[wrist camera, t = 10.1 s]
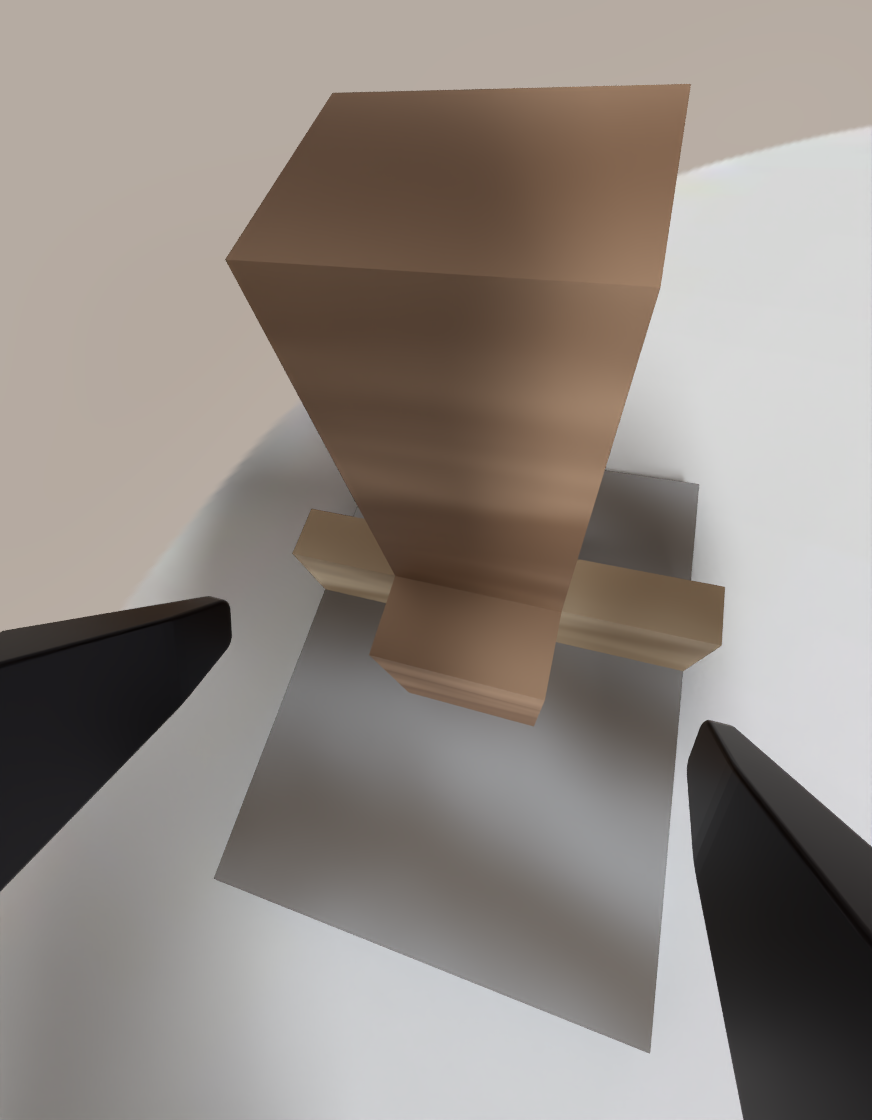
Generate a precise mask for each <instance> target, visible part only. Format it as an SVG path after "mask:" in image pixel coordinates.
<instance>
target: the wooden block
mask: <svg viewBox="0 0 872 1120" xmlns="http://www.w3.org/2000/svg"><path fill="white" fill-rule="evenodd" d="M690 86H691V85H690V84H674V85H673V84H672V85H634V86H633V85H632V86H593V87H552V88H516V89H515V88H513V89H475V90H474V89H472V90H432V91H395V92H394V91H392V92H352V93H332V95H331V96H330V98H329V99H328V101H327V102H326V104H325V105H324V107H323V109H322V110H321V112H320V113H319V115H318V116H317V118H316V119H315V121H314V123H313V124H312V126H311V127H310V129H309V130H308V132H307V133H306V135H305V137H304V138H303V140H302V141H301V143H300V144H299V146H298V147H297V149H296V151H295V152H294V154H293V155H292V157H291V158H290V160H289V162H288V163H287V164H286V166H285V168H284V169H283V171H282V172H281V174H280V175H279V177H278V178H277V180H276V182H275V183H274V185H273V186H272V188H271V189H270V191H269V192H268V194H267V195H266V197H265V199H264V200H263V202H262V203H261V205H260V207H259V208H258V210H257V211H256V213H255V214H254V216H253V217H252V219H251V220H250V222H249V224H248V225H247V227H246V228H245V230H244V231H243V233H242V234H241V236H240V237H239V239H238V241H237V242H236V244H235V245H234V247H233V249H232V250H231V252H230V253H229V254H228V256H227V258H226V259H225V260H226V262H227V264H228V265H229V267H230V269H231V271H232V273H233V275H234V276H235V278H236V280H237V282H238V284H239V286H240V288H241V290H242V291H243V293H244V295H245V297H246V299H247V301H248V302H249V305H250V306H251V308H252V310H253V312H254V314H255V316H256V318H257V319H258V321H259V323H260V325H261V327H262V329H263V330H264V332H265V334H266V336H267V338H268V340H269V342H270V344H271V345H272V347H273V349H274V351H275V353H276V355H277V356H278V358H279V360H280V362H281V364H282V366H283V368H284V370H285V371H286V373H287V375H288V377H289V379H290V381H291V383H292V385H293V386H294V388H295V390H296V392H297V394H298V396H299V398H300V400H301V401H302V403H303V405H304V407H305V409H306V411H307V413H308V414H309V416H310V418H311V420H312V422H313V424H314V426H315V427H316V429H317V431H318V433H319V435H320V437H321V439H322V440H323V442H324V444H325V446H326V448H327V450H328V452H329V454H330V455H331V457H332V459H333V461H334V463H335V465H336V467H337V468H338V470H339V472H340V474H341V476H342V478H343V480H344V481H345V483H346V485H347V487H348V489H349V491H350V493H351V494H352V496H353V498H354V500H355V502H356V504H357V506H358V508H359V509H360V511H361V513H362V515H363V517H364V519H365V521H366V522H367V524H368V526H369V528H370V530H371V532H372V534H373V535H374V537H375V539H376V541H377V543H378V545H379V547H380V548H381V550H382V552H383V554H384V556H385V558H386V560H387V562H388V563H389V565H390V567H391V569H392V571H393V573H394V575H395V578H394V581H393V584H392V587H391V590H390V593H389V596H388V599H387V602H386V605H385V608H384V611H383V614H382V617H381V620H380V623H379V626H378V629H377V632H376V635H375V638H374V641H373V644H372V647H371V650H370V653H369V655H370V656H371V657H372V658H373V659H374V660H375V661H376V662H377V663H378V664H379V665H380V666H381V667H382V668H383V669H384V670H385V671H387V672H388V673H389V674H390V675H391V676H392V677H393V678H394V679H395V680H396V681H397V682H398V683H399V684H400V685H401V686H402V687H403V688H405V689H406V690H407V691H408V692H409V693H412V694H416V695H420V696H423V697H427V698H431V699H434V700H438V701H442V702H445V703H449V704H453V705H456V706H460V707H464V708H467V709H471V710H475V711H479V712H482V713H486V714H490V715H493V716H497V717H501V718H504V719H508V720H512V721H515V722H519V723H523V724H526V725H530V726H534V725H535V722H536V720H537V718H538V715H539V713H540V711H541V708H542V706H543V703H544V701H545V697H546V691H547V686H548V681H549V676H550V670H551V665H552V660H553V654H554V649H555V644H556V639H557V633H558V628H559V623H560V618H561V612H562V609H563V606H564V602H565V599H566V596H567V592H568V589H569V586H570V583H571V579H572V576H573V573H574V569H575V566H576V563H577V560H578V556H579V553H580V550H581V546H582V543H583V540H584V537H585V533H586V530H587V527H588V523H589V520H590V517H591V514H592V510H593V507H594V504H595V500H596V497H597V494H598V491H599V487H600V484H601V481H602V477H603V474H604V471H605V468H606V464H607V461H608V458H609V454H610V451H611V448H612V445H613V441H614V438H615V435H616V431H617V428H618V425H619V422H620V418H621V415H622V412H623V408H624V405H625V402H626V399H627V395H628V392H629V389H630V385H631V382H632V379H633V376H634V372H635V369H636V366H637V362H638V359H639V356H640V353H641V349H642V346H643V343H644V339H645V336H646V333H647V330H648V326H649V323H650V320H651V316H652V313H653V310H654V307H655V303H656V300H657V297H658V293H659V290H660V286H661V280H662V273H663V266H664V260H665V253H666V246H667V239H668V233H669V226H670V219H671V213H672V206H673V199H674V193H675V186H676V179H677V173H678V166H679V159H680V152H681V146H682V139H683V132H684V126H685V119H686V112H687V106H688V99H689V92H690Z"/></svg>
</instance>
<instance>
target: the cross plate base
mask: <svg viewBox="0 0 872 1120" xmlns="http://www.w3.org/2000/svg"><path fill="white" fill-rule="evenodd" d="M698 491H699V484H694V483H687V482H681V481H674V480H667V479H660V478H653V477H647V476H640V475H633V474H626V473H619V472H613V471H606V470H605V471H604V474H603V477H602V481H601V484H600V487H599V491H598V494H597V497H596V500H595V504H594V507H593V510H592V514H591V517H590V520H589V523H588V527H587V530H586V533H585V537H584V540H583V543H582V546H581V550H580V553H579V556H578V560H577V563H576V566H575V569H574V573H573V576H572V579H571V583H570V586H569V589H568V592H567V596H566V599H565V602H564V606H563V609H562V612H561V618H560V623H559V628H558V633H557V639H556V644H555V649H554V654H553V660H552V665H551V670H550V676H549V681H548V686H547V691H546V697H545V701H544V703H543V706H542V708H541V711H540V713H539V715H538V718H537V720H536V722H535V725H534V726H530V725H526V724H523V723H519V722H515V721H512V720H508V719H504V718H501V717H497V716H493V715H490V714H486V713H482V712H479V711H475V710H471V709H467V708H464V707H460V706H456V705H453V704H449V703H445V702H442V701H438V700H434V699H431V698H427V697H423V696H420V695H416V694H412V693H409V692H408V691H407V690H406V689H405V688H403V687H402V686H401V685H400V684H399V683H398V682H397V681H396V680H395V679H394V678H393V677H392V676H391V675H390V674H389V673H388V672H387V671H385V670H384V669H383V668H382V667H381V666H380V665H379V664H378V663H377V662H376V661H375V660H374V659H373V658H372V657H371V656H370V655H369V653H370V650H371V647H372V644H373V641H374V638H375V635H376V632H377V629H378V626H379V623H380V620H381V617H382V614H383V611H384V608H385V605H386V602H387V599H388V596H389V593H390V590H391V587H392V584H393V581H394V578H395V575H394V573H393V571H392V569H391V567H390V565H389V563H388V562H387V560H386V558H385V556H384V554H383V552H382V550H381V548H380V547H379V545H378V543H377V541H376V539H375V537H374V535H373V534H372V532H371V530H370V528H369V526H368V524H367V522H366V521H365V519H364V517H363V515H362V513H361V511H360V509H359V508H358V506H357V509H356V511H355V514H354V516H353V517H352V516H347V515H342V514H336V513H331V512H326V511H321V510H315V509H311V511H310V513H309V516H308V518H307V520H306V523H305V525H304V527H303V530H302V532H301V535H300V537H299V539H298V542H297V544H296V546H295V549H294V551H293V553H292V554H293V555H294V556H295V557H296V558H297V559H298V560H299V561H300V562H301V563H302V565H303V566H304V567H305V568H306V569H307V570H308V571H309V572H310V573H311V574H312V575H313V576H314V577H315V579H316V580H317V581H318V582H319V583H320V584H321V585H322V586H323V587H324V588H325V591H324V594H323V597H322V599H321V602H320V604H319V607H318V610H317V612H316V615H315V617H314V620H313V623H312V625H311V628H310V630H309V633H308V636H307V638H306V641H305V643H304V646H303V649H302V651H301V654H300V656H299V659H298V661H297V664H296V667H295V669H294V672H293V674H292V677H291V680H290V682H289V685H288V687H287V690H286V693H285V695H284V698H283V700H282V703H281V706H280V708H279V711H278V713H277V716H276V718H275V721H274V724H273V726H272V729H271V731H270V734H269V737H268V739H267V742H266V744H265V747H264V750H263V752H262V755H261V757H260V760H259V763H258V765H257V768H256V770H255V773H254V775H253V778H252V781H251V783H250V786H249V788H248V791H247V794H246V796H245V799H244V801H243V804H242V807H241V809H240V812H239V814H238V817H237V820H236V822H235V825H234V827H233V830H232V833H231V835H230V838H229V840H228V843H227V845H226V848H225V851H224V853H223V856H222V858H221V861H220V864H219V866H218V869H217V871H216V874H215V877H214V879H216V880H218V881H221V882H223V883H226V884H228V885H231V886H233V887H236V888H238V889H241V890H243V891H246V892H248V893H251V894H253V895H256V896H258V897H261V898H263V899H266V900H268V901H271V902H273V903H276V904H278V905H281V906H283V907H286V908H288V909H291V910H293V911H296V912H298V913H301V914H303V915H306V916H308V917H311V918H313V919H316V920H318V921H321V922H323V923H326V924H328V925H331V926H333V927H336V928H338V929H341V930H343V931H346V932H348V933H351V934H353V935H356V936H358V937H361V938H363V939H366V940H368V941H370V942H373V943H375V944H378V945H380V946H383V947H385V948H388V949H390V950H393V951H395V952H398V953H400V954H403V955H405V956H408V957H410V958H413V959H415V960H418V961H420V962H423V963H425V964H428V965H430V966H433V967H435V968H438V969H440V970H443V971H445V972H448V973H450V974H453V975H455V976H458V977H460V978H463V979H465V980H468V981H470V982H473V983H475V984H478V985H480V986H483V987H485V988H488V989H490V990H493V991H495V992H498V993H500V994H503V995H505V996H508V997H510V998H513V999H515V1000H518V1001H520V1002H523V1003H525V1004H528V1005H530V1006H533V1007H535V1008H538V1009H540V1010H543V1011H545V1012H548V1013H550V1014H553V1015H555V1016H558V1017H560V1018H563V1019H565V1020H568V1021H570V1022H572V1023H575V1024H577V1025H580V1026H582V1027H585V1028H587V1029H590V1030H592V1031H595V1032H597V1033H600V1034H602V1035H605V1036H607V1037H610V1038H612V1039H615V1040H617V1041H620V1042H622V1043H625V1044H627V1045H630V1046H632V1047H635V1048H637V1049H640V1050H642V1051H645V1052H647V1053H650V1048H651V1036H652V1025H653V1013H654V1001H655V990H656V978H657V967H658V955H659V943H660V932H661V920H662V909H663V897H664V885H665V874H666V862H667V851H668V839H669V827H670V816H671V804H672V793H673V781H674V770H675V758H676V746H677V735H678V723H679V712H680V700H681V688H682V677H683V671H684V670H686V669H687V668H689V667H690V666H692V665H693V664H695V663H696V662H698V661H699V660H701V659H702V658H704V657H705V656H707V655H708V654H710V653H711V652H713V651H714V650H716V649H717V648H719V647H720V646H722V629H723V611H724V594H725V587H722V586H717V585H712V584H706V583H701V582H696V581H691V572H692V561H693V549H694V538H695V526H696V515H697V503H698Z"/></svg>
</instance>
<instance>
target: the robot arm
mask: <svg viewBox="0 0 872 1120" xmlns="http://www.w3.org/2000/svg"><path fill="white" fill-rule="evenodd" d="M231 638H232V630H231V613H230V606H229V603H228V602H227V601H226V600H223V599H219V598H215V597H211V596H206V597H200V598H194V599H188V600H182V601H177V602H171V603H165V604H159V605H153V606H147V607H141V608H135V609H129V610H123V611H118V612H112V613H106V614H100V615H94V616H88V617H83V618H77V619H70V620H65V621H59V622H53V623H47V624H41V625H35V626H29V627H23V628H17V629H12V630H6V631H2V632H0V891H1V890H2V889H3V888H4V887H5V886H6V885H7V884H8V883H9V882H10V881H11V880H12V879H13V878H14V877H15V876H16V875H17V874H18V873H19V872H20V871H21V870H22V869H23V868H24V867H25V866H26V865H27V864H28V863H29V861H30V860H31V859H32V858H33V857H34V856H35V855H36V854H37V853H38V852H39V851H40V850H41V849H42V848H43V847H44V846H45V845H46V844H47V843H48V842H49V841H50V840H51V839H52V838H53V837H54V836H55V835H56V834H57V833H58V832H59V831H60V830H61V829H62V828H63V827H64V826H65V825H66V823H67V822H68V821H69V820H70V819H71V818H72V817H73V816H74V815H75V814H76V813H77V812H78V811H79V810H80V809H81V808H82V807H83V806H84V805H85V804H86V803H87V802H88V801H89V800H90V799H91V798H92V797H93V796H94V795H95V794H96V793H97V792H98V791H99V790H100V789H101V788H102V787H103V785H104V784H105V783H106V782H107V781H108V780H109V779H110V778H111V777H112V776H113V775H114V774H115V773H116V772H117V771H118V770H119V769H120V768H121V767H122V766H123V765H124V764H125V763H126V762H127V761H128V760H129V759H130V758H131V757H132V756H133V755H134V754H135V753H136V752H137V751H138V750H139V749H140V747H141V746H142V745H143V744H144V743H145V742H146V741H147V740H148V739H149V738H150V737H151V736H152V735H153V734H154V733H155V732H156V731H157V730H158V729H159V728H160V727H161V726H162V725H163V724H164V723H165V722H166V721H167V720H168V719H169V718H170V717H171V716H172V715H173V714H174V712H175V711H176V710H177V709H178V708H179V707H180V706H181V705H182V704H183V703H184V701H185V700H186V699H187V698H188V697H189V696H190V694H191V693H192V692H193V691H194V689H195V688H196V687H197V686H198V684H199V683H200V682H201V681H202V679H203V678H204V677H205V676H206V674H207V673H208V672H209V671H210V670H211V668H212V667H213V666H214V665H215V663H216V662H217V661H218V660H219V658H220V657H221V656H222V655H223V653H224V652H225V651H226V650H227V648H228V647H229V645H230V642H231ZM687 782H688V796H689V809H690V822H691V836H692V849H693V859H694V867H695V873H696V879H697V884H698V889H699V894H700V899H701V905H702V910H703V915H704V920H705V925H706V930H707V935H708V940H709V946H710V951H711V956H712V961H713V966H714V971H715V976H716V981H717V987H718V992H719V997H720V1002H721V1007H722V1012H723V1017H724V1022H725V1028H726V1033H727V1038H728V1043H729V1048H730V1053H731V1058H732V1064H733V1069H734V1074H735V1079H736V1084H737V1089H738V1094H739V1099H740V1105H741V1110H742V1115H743V1120H872V847H871V846H870V845H869V844H868V843H867V842H866V841H865V840H863V839H862V838H861V837H860V836H859V835H858V834H857V833H855V832H854V831H853V830H852V829H851V828H850V827H849V826H847V825H846V824H845V823H844V822H843V821H842V820H840V819H839V818H838V817H837V816H836V815H835V814H834V813H832V812H831V811H830V810H829V809H828V808H827V807H826V806H824V805H823V804H822V803H821V802H820V801H819V800H817V799H816V798H815V797H814V796H813V795H812V794H811V793H809V792H808V791H807V790H806V789H805V788H804V787H803V786H801V785H800V784H799V783H798V782H797V781H796V780H795V779H793V778H792V777H791V776H790V775H789V774H788V773H786V772H785V771H784V770H783V769H782V768H781V767H780V766H778V765H777V764H776V763H775V762H774V761H773V760H772V759H770V758H769V757H768V756H767V755H766V754H765V753H763V752H762V751H761V750H760V749H759V748H758V747H757V746H755V745H754V744H753V743H752V742H751V741H750V740H749V739H747V738H746V737H745V736H744V735H743V734H742V733H741V732H739V731H738V730H737V729H736V728H735V727H733V726H731V725H727V724H723V723H719V722H715V721H711V720H707V721H705V722H703V724H702V725H701V727H700V729H699V732H698V735H697V737H696V740H695V743H694V745H693V748H692V751H691V754H690V756H689V759H688V764H687Z"/></svg>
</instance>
